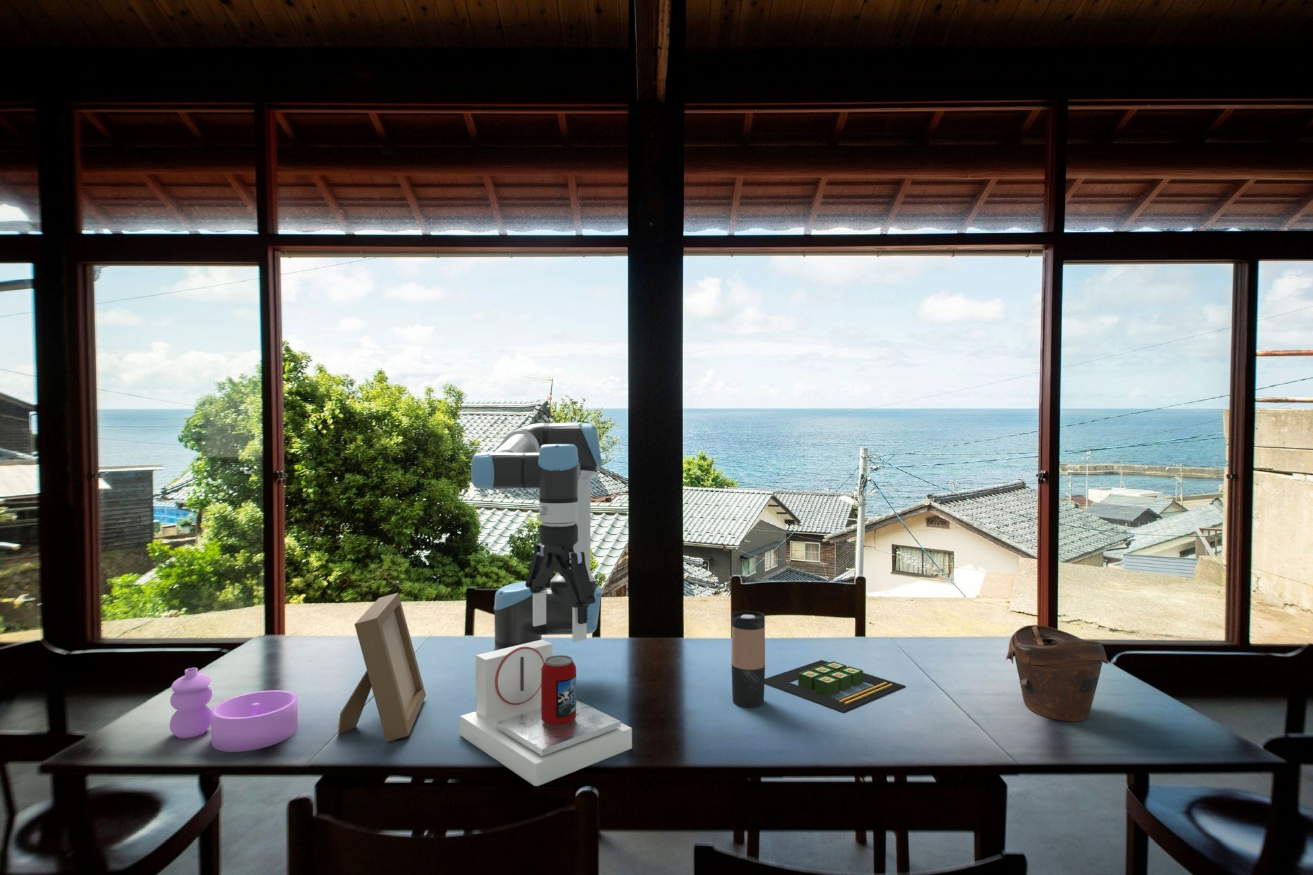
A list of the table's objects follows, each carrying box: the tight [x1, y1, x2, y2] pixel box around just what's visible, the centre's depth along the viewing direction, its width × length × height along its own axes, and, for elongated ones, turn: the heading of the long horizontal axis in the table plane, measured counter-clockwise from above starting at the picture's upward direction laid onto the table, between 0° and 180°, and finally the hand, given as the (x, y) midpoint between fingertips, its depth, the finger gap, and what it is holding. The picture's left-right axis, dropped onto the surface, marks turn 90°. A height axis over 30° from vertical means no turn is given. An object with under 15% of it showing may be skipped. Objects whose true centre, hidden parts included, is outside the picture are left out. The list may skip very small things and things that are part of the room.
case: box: [1005, 624, 1109, 722], centre depth 157 cm, size 18×20×18 cm
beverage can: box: [541, 654, 577, 726], centre depth 137 cm, size 7×7×12 cm
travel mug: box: [731, 610, 766, 709], centre depth 161 cm, size 8×8×20 cm
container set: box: [169, 667, 299, 753], centre depth 144 cm, size 25×15×13 cm, turn 86°
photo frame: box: [337, 592, 427, 743], centre depth 151 cm, size 15×22×25 cm
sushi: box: [765, 659, 906, 714], centre depth 173 cm, size 25×25×4 cm
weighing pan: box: [496, 699, 622, 756], centre depth 137 cm, size 16×18×1 cm
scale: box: [459, 639, 633, 787], centre depth 141 cm, size 28×22×17 cm
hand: (558, 632), depth 137 cm, fingers open, 13 cm apart
